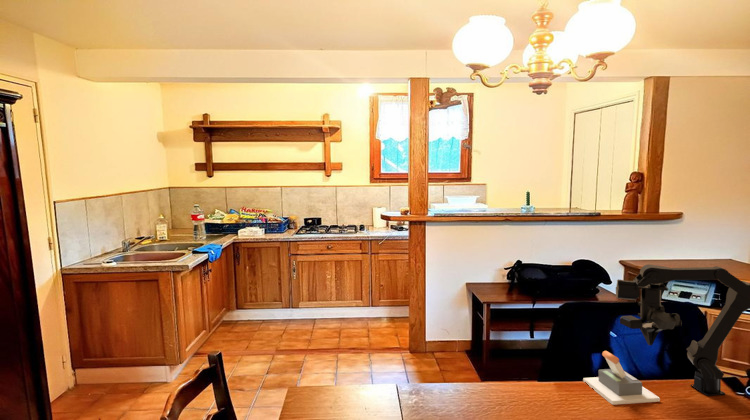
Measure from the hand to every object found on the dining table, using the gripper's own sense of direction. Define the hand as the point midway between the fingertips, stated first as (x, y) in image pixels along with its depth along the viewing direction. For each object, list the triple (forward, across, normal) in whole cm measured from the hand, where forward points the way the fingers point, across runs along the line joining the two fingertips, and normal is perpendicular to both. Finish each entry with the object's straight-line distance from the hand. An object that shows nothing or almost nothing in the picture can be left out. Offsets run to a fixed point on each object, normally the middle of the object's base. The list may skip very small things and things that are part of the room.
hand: (649, 344), depth 135 cm
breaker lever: (+7, -15, -5) cm, 17 cm away
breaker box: (+13, -15, -5) cm, 20 cm away
